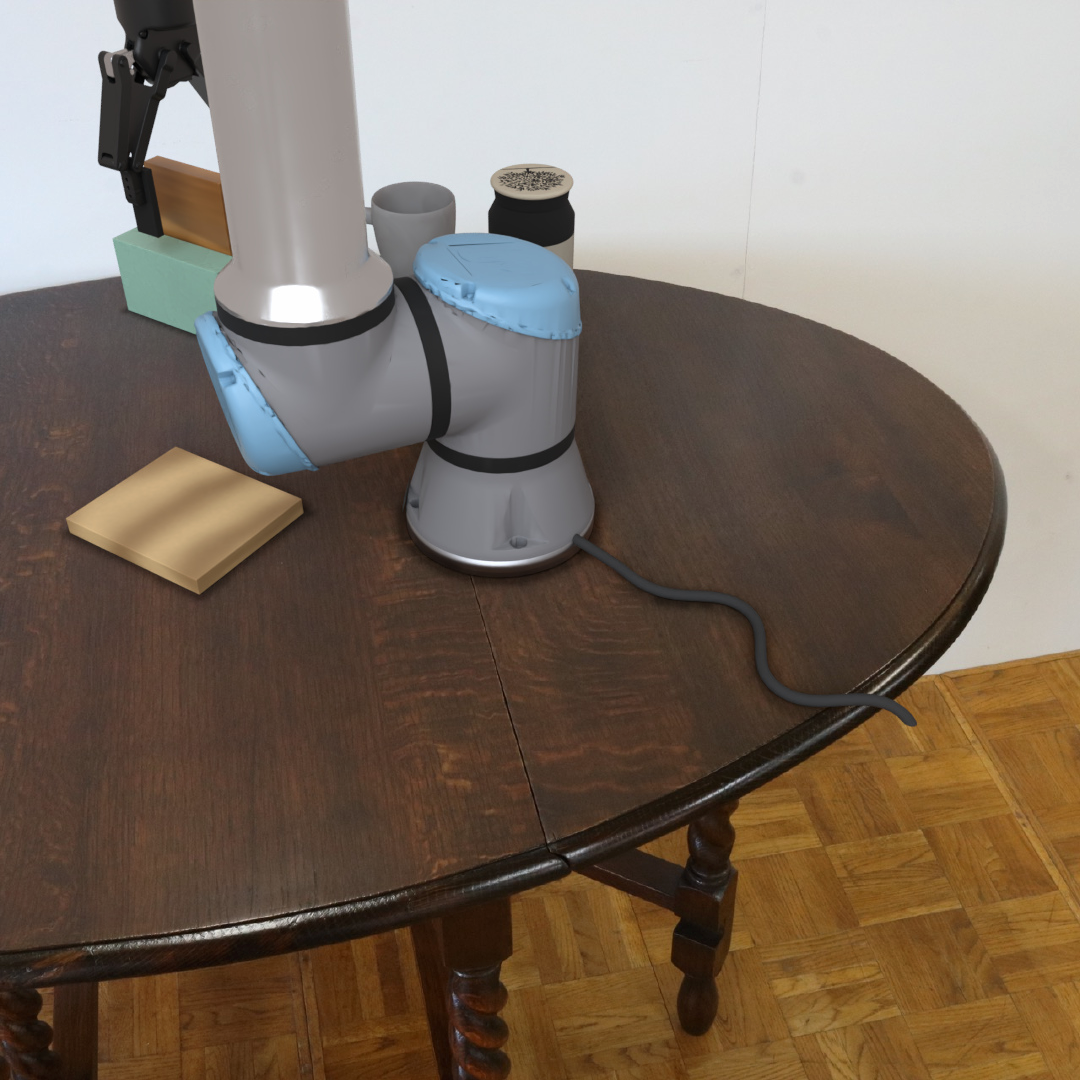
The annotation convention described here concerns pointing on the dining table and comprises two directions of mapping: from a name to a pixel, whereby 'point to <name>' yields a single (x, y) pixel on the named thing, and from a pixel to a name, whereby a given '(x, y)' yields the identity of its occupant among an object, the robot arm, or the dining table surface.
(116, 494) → the board
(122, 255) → the toaster
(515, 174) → the travel mug
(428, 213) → the mug
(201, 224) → the toast
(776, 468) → the dining table surface
